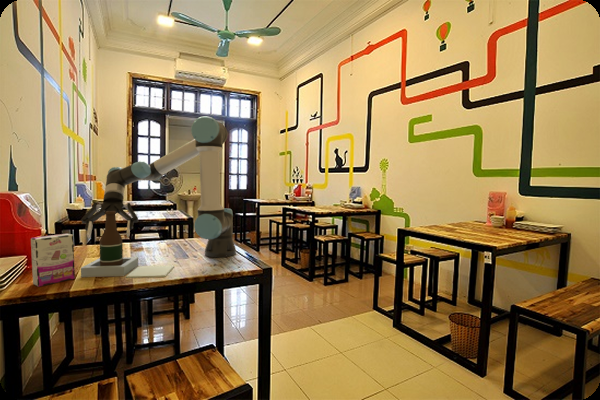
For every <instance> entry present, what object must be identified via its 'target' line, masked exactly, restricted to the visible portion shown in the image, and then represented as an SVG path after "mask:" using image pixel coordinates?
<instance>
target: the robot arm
mask: <svg viewBox="0 0 600 400" xmlns="http://www.w3.org/2000/svg"><path fill="white" fill-rule="evenodd" d="M190 132H191V135H192V137H193V139H192V140H191V141H189V142H186V143H185V144H183V145H182V146H179V147H178V148H176V149H174V150H173V151H170V152H169V153H166V155H163V156H162V157H160V158H158V159H156V160H155V161H153V162H151V163H149V164H148V163H147V162H145V161H144V160H139V161H136V162H134V163H132V164H130V165H127V166H125V167H123V168H122V167H120V166H114V167H111V168H109V170H108V172H107V175H106V180H105V186H104V187H105V188H104V193H103V198H102V199H103V200H102V203H101V204H98V203H97V202H94V203H93V205H92V207H91V208H90V209H89V210H88V211H87V212H86V213H85V214H84V215H83V216H82V218H81V224H85V226H84V228H85V229H84V230H85V231H86V236H87V239H88V240H90V239H91V237H92V232H93V231H92V230H93V226H94V225H93V223H95V222H96V221H97V220H98V219H101V217H103V216H106V214H105V212H106V211H115V212H116V214H118V215H120V216H121V217H122V218H124V219H125V220H126V221H127V224H126V225H127V226H126V237H127V238H130V234H131V232H130V231H131V230H133V229H134V224H135V223H139V217H138V216H137V214H136V212H135V211H134V210H133V208H132V204H131V202H127V203H126V204H124V198H125V197H124V196H125V188H126V186H127V185H128V186H129V185H130V184H132V183H136V182H138V181H152V182H154V181H158V180H160V179H161V178H162V176H163V175H164V174H167V173H169V172H171V171H172V170H174V169H177V167H180V166H181V165H183V164H185V163H187V162H188V161H190V160H193V159H195V158H196V157H197V156H199V183H200V185H199V187H200V188H199V189H200V205H199V207H198V208H197V217H196V219H195V221H194V223H193V225H194V231H195V233H196V235H198V236H199V238H201V239H204V240H207V243H206V246H205V249H204V256H206V257H210V258H225V257H231V256H235V255H236V254H237V253H236V252H237V248H236V246H235V241H234V239H233V228H234V227H233V226H234V225H233V223H234V222H233V220H234V219H233V217H234V214H233V210H232V209H231V208H224V206H222V204H221V175H220V174H221V173H220V170H221V169H220V152H221V151H222V150H223V144H225V142H226V141H227V139H228V131H227V128H226V127H225V125H224V124H223V123H222V122H219V121H218V120H216V119H215V118H214V117H211V116H206V115H205V116H200V117H198V118H196V119H195V120H194V121H193V123H192V124H191V128H190ZM124 208H125V210H127V211H128V213H129V214H128V213H127V212H126V211H124Z"/></svg>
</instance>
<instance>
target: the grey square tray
mask: <svg viewBox="0 0 600 400" xmlns="http://www.w3.org/2000/svg"><path fill="white" fill-rule="evenodd" d="M137 267H139V257H138V256H136V257H135V256H134V257H132V256H131V257H128V256H125V257H123V264H122V265H121V266H100V257H99V258H97V259H95V260H93V261H91V262H90V263H87V264H86V265H84V266H81V268H80V278H93V277H94V278H95V277H98V278H99V277H102V278H103V277H126V276H127V275H128V274H130V273H131V272H132V271H133V270H135V269H136V268H137Z"/></svg>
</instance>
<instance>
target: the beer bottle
mask: <svg viewBox="0 0 600 400" xmlns="http://www.w3.org/2000/svg"><path fill="white" fill-rule="evenodd" d="M116 215H117V213H116V212H115V211H106V212H105V225H104V226H105V228H104V232H103V233H102V235H101V236H100V239H99V258H100V266H121V265H122V264H123V258H124V257H123V254H124V252H123V251H124V250H123V239H122V238H123V237H122V235H121V234H120V232H119V231H118V229H117V219H116Z"/></svg>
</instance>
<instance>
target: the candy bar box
mask: <svg viewBox="0 0 600 400" xmlns="http://www.w3.org/2000/svg"><path fill="white" fill-rule="evenodd" d="M30 247H31V250H30V251H31V270H32V285H34V286H36V287H45V286H47V285H53V284H56V283H61V282H66V281H70V280H73V279H76V271H75V270H76V269H75V248H74V247H75V245H74V234H73V233H72V234H71V233H61V234H60V233H59V234H54V235H53V234H52V235H45V236H38V237H31V238H30Z"/></svg>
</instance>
